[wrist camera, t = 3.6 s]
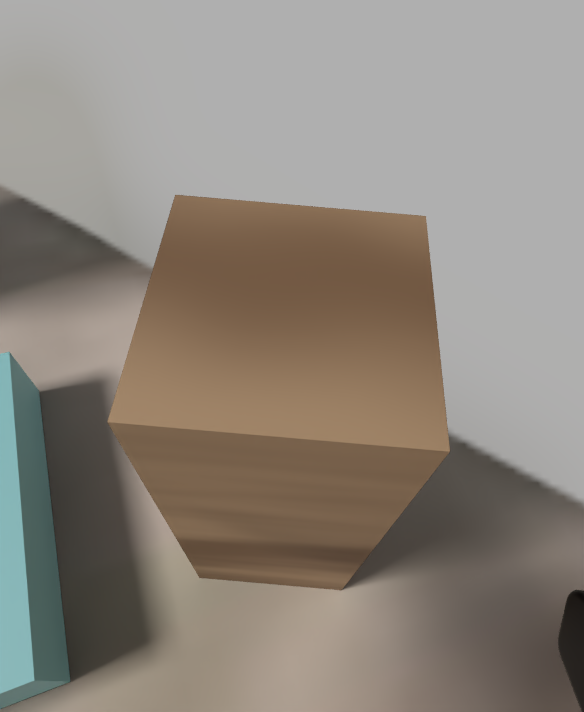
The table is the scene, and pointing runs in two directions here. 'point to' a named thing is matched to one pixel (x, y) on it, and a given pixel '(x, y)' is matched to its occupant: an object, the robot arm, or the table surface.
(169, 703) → the table surface
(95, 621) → the table surface
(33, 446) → the base
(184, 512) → the block
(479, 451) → the table surface
